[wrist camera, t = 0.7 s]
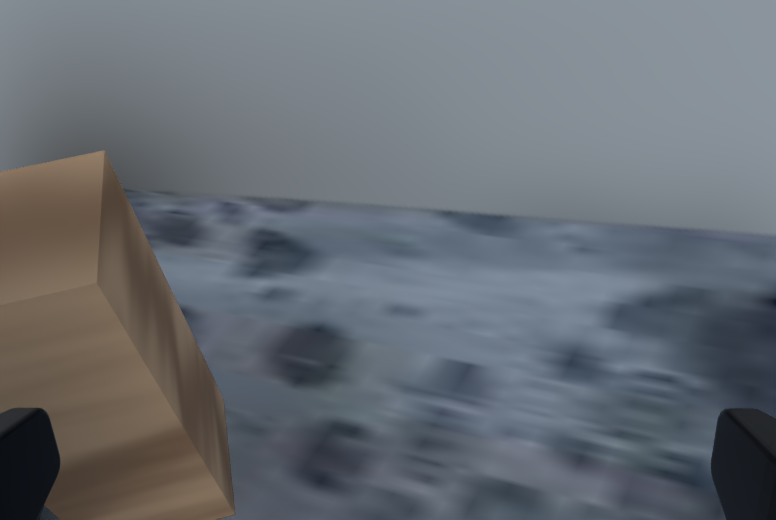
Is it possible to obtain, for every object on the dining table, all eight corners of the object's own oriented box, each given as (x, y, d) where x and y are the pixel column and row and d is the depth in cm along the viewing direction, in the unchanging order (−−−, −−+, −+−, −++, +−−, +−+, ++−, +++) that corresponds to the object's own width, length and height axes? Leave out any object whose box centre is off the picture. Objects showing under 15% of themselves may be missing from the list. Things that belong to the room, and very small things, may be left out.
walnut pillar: (235, 514, 25) (96, 282, 15) (96, 552, 24) (-141, 337, 14) (223, 399, 28) (104, 150, 18) (101, 430, 27) (-88, 190, 18)
